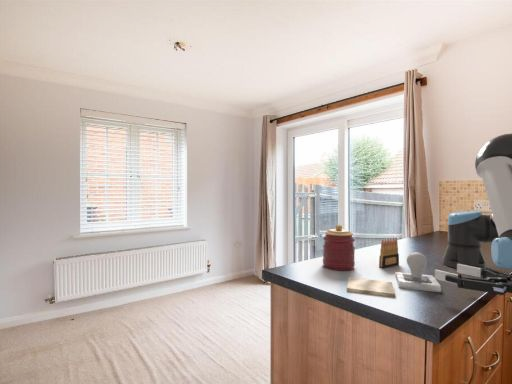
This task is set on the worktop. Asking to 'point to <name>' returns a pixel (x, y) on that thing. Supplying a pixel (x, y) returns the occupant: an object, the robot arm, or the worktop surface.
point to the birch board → (370, 287)
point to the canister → (338, 249)
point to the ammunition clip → (389, 253)
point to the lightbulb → (416, 265)
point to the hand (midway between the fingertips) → (446, 270)
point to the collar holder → (429, 286)
